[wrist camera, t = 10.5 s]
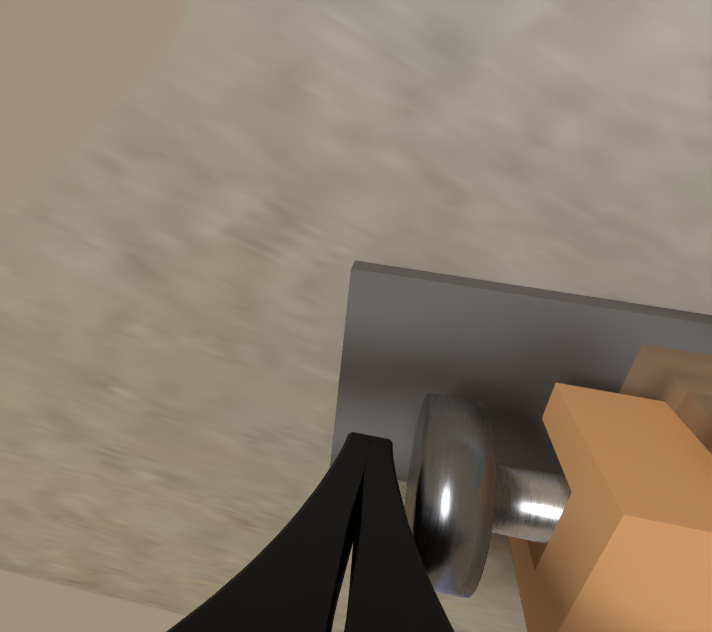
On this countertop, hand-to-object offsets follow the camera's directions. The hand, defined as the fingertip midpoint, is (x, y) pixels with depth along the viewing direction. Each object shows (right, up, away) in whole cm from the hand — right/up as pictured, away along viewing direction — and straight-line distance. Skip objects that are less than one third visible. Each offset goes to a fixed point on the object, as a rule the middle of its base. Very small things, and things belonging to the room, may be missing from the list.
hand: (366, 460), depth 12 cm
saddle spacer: (+7, 0, +1) cm, 7 cm away
